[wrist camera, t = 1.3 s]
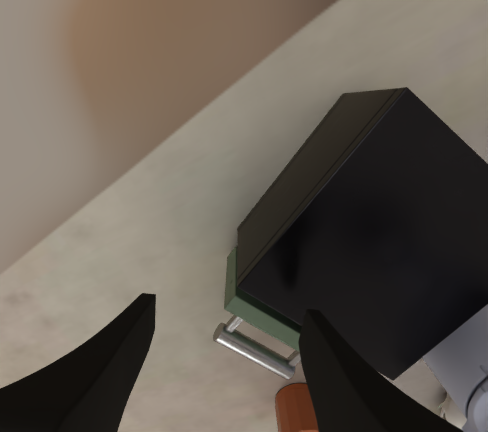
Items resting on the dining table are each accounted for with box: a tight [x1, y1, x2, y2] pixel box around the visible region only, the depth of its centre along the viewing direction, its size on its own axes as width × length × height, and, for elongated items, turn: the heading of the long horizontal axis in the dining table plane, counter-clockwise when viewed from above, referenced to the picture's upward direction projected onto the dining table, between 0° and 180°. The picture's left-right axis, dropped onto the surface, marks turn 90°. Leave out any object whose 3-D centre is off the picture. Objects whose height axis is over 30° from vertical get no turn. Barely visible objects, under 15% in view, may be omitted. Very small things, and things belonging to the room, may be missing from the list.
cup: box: [275, 383, 319, 432], centre depth 28 cm, size 5×5×5 cm
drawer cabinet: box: [237, 87, 488, 380], centre depth 19 cm, size 12×12×8 cm
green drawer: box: [213, 247, 302, 379], centre depth 21 cm, size 16×11×6 cm
